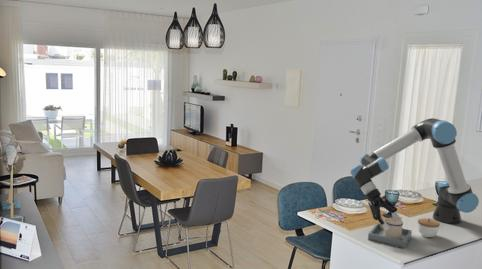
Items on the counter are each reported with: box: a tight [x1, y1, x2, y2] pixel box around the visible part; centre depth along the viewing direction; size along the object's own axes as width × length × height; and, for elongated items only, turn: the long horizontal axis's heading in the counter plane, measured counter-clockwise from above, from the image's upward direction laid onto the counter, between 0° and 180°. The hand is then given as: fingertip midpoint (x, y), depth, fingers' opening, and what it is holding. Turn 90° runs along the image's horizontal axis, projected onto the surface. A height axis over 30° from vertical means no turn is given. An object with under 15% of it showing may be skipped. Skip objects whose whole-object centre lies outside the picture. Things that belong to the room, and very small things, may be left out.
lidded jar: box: [417, 217, 441, 238], centre depth 222 cm, size 11×11×9 cm
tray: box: [367, 222, 413, 249], centre depth 217 cm, size 18×18×4 cm
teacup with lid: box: [380, 215, 404, 240], centre depth 216 cm, size 12×9×12 cm
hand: (394, 226), depth 215 cm, fingers open, 13 cm apart
